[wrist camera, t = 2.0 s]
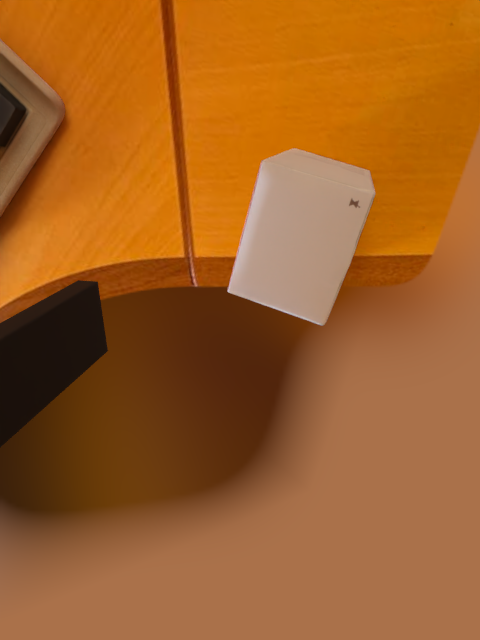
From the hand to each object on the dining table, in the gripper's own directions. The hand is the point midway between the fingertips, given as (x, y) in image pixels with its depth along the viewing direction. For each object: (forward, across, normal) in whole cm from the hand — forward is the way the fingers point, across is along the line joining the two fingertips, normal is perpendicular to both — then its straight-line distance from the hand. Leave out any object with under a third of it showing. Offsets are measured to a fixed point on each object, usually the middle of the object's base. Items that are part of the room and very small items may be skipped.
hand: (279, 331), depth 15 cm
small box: (+24, -1, 0) cm, 24 cm away
